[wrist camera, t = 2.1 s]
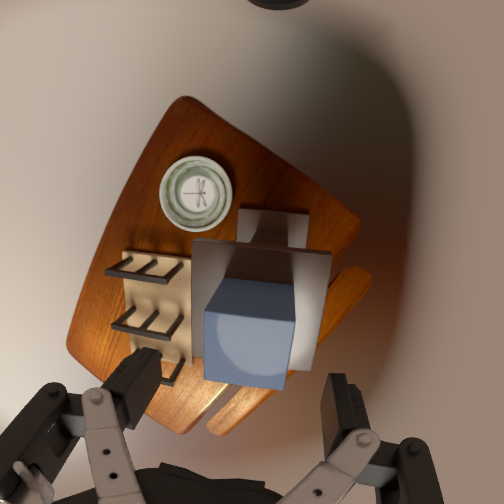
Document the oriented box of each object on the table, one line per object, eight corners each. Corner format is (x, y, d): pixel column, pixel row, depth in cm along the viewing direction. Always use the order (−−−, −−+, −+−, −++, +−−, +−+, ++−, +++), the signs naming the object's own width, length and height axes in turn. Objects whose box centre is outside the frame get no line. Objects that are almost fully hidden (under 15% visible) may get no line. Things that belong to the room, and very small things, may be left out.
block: (223, 276, 19) (203, 310, 14) (294, 284, 19) (296, 321, 14) (221, 337, 20) (203, 380, 16) (285, 344, 20) (283, 390, 15)
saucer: (159, 167, 38) (151, 167, 36) (226, 148, 36) (222, 146, 34) (175, 235, 40) (168, 238, 38) (242, 220, 38) (239, 223, 36)
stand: (239, 207, 38) (191, 240, 19) (309, 214, 37) (332, 255, 18) (235, 273, 40) (192, 356, 21) (301, 280, 40) (310, 371, 20)
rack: (125, 250, 42) (98, 264, 34) (193, 258, 41) (174, 275, 33) (134, 350, 46) (114, 374, 39) (193, 363, 45) (180, 391, 38)
